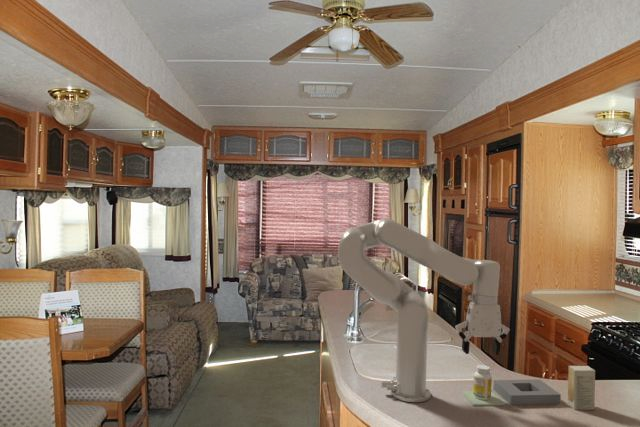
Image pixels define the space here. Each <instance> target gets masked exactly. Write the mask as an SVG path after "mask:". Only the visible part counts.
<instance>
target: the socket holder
mask: <svg viewBox="0 0 640 427" xmlns="http://www.w3.org/2000/svg"><path fill="white" fill-rule="evenodd" d="M492 388H493V391H495V393H497V394H498V395H499V396H500V397H501V398H502V399H503V400H505V402H507V403H508V404H509V405H510V406H525V405H526V406H527V405H528V406H529V405H534V406H535V405H561V399H562V398H561V397H562V395H561V393H560V392H558V391H556V390H555V389H554V388H552V387H551V386H549V385H548V384H547V383H546V382H544V381H542V380H541V379H493V387H492Z"/></svg>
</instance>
